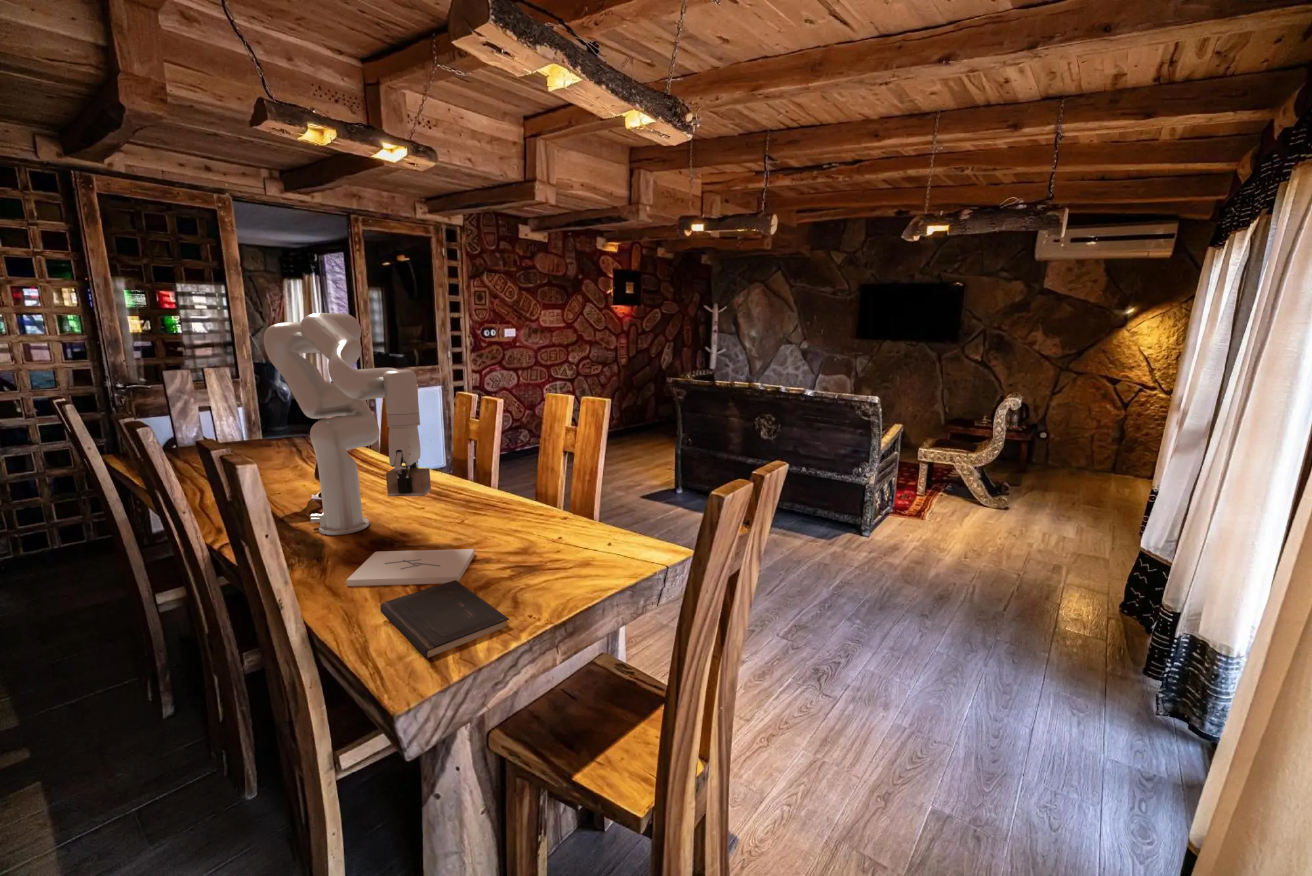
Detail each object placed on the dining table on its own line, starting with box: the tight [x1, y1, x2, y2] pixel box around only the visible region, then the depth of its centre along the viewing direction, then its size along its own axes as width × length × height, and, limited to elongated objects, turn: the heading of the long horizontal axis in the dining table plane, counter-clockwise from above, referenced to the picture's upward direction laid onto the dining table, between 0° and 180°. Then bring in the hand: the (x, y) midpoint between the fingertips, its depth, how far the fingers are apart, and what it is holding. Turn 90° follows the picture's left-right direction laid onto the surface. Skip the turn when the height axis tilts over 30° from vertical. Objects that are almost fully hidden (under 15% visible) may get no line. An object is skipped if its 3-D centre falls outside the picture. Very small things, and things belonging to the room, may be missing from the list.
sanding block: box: [385, 467, 432, 497], centre depth 145 cm, size 9×5×6 cm, turn 92°
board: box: [346, 548, 476, 587], centre depth 135 cm, size 24×16×2 cm, turn 95°
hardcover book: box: [379, 580, 510, 660], centre depth 112 cm, size 16×23×2 cm
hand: (409, 489), depth 146 cm, fingers closed on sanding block, 5 cm apart
